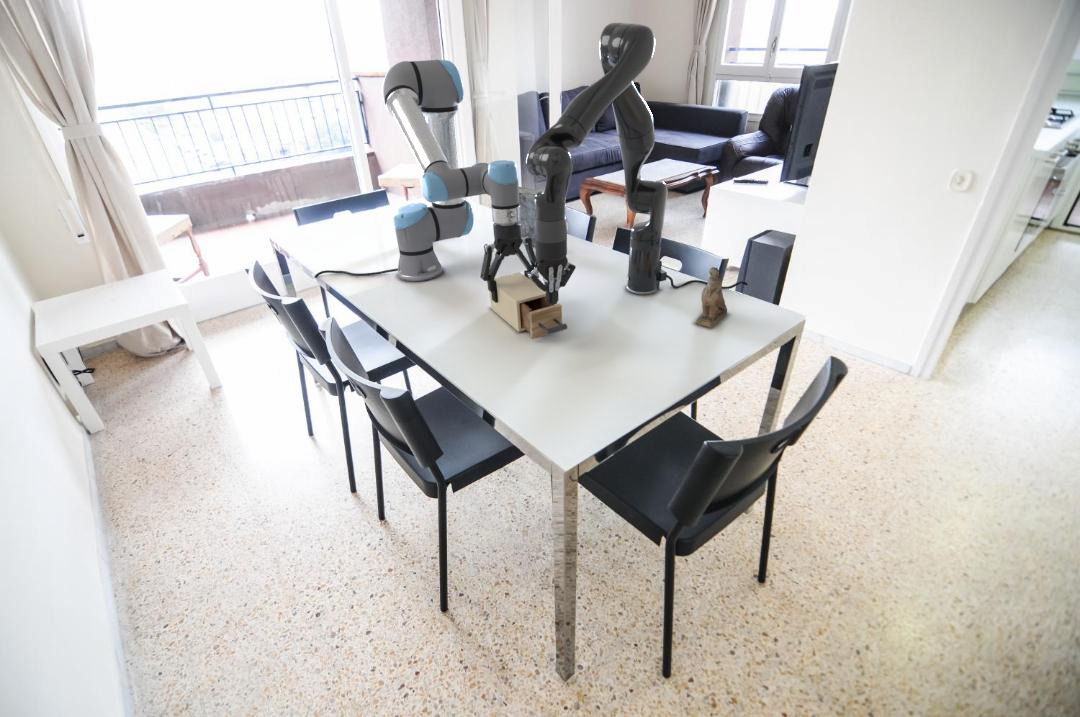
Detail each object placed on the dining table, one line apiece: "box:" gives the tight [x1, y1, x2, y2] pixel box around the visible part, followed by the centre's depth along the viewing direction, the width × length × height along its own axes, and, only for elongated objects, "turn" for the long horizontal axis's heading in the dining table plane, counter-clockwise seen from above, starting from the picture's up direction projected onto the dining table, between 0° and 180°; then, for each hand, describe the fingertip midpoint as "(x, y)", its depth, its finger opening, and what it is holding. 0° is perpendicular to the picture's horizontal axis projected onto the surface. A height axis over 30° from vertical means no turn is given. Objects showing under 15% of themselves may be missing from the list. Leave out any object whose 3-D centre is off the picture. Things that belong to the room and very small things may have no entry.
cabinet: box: [489, 271, 546, 333], centre depth 143 cm, size 18×10×9 cm, turn 29°
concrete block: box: [519, 186, 539, 247], centre depth 195 cm, size 27×9×20 cm, turn 36°
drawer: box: [519, 297, 568, 340], centre depth 135 cm, size 23×9×7 cm, turn 29°
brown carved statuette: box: [695, 266, 728, 328], centre depth 135 cm, size 12×6×18 cm, turn 136°
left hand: (511, 296), depth 147 cm, fingers closed on cabinet, 10 cm apart
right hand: (552, 303), depth 125 cm, fingers closed
